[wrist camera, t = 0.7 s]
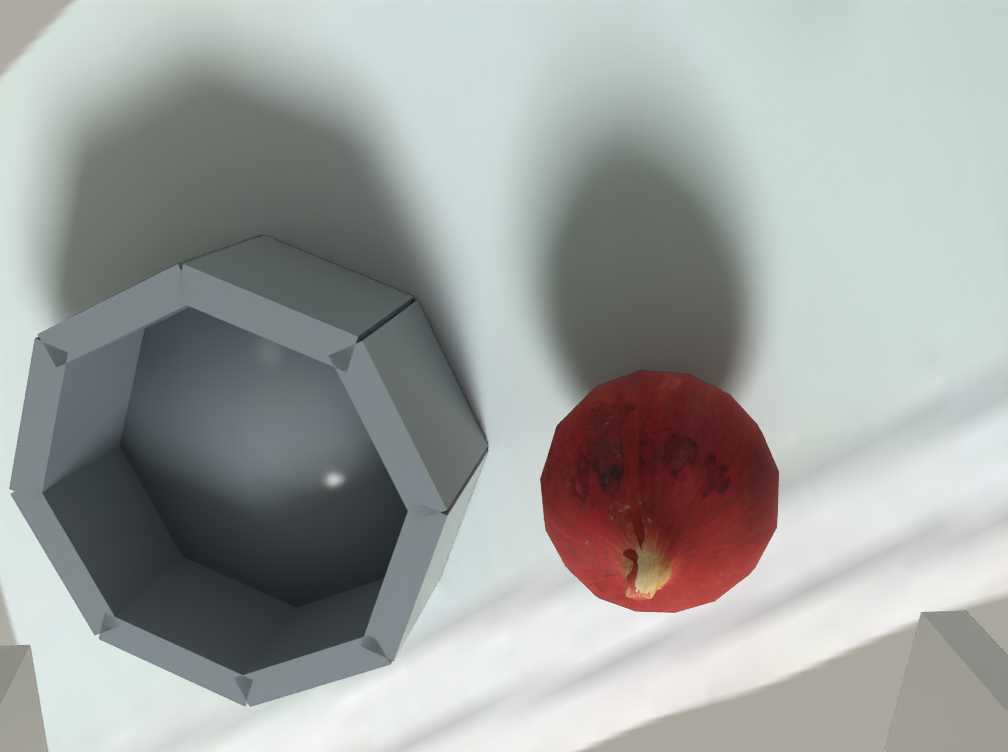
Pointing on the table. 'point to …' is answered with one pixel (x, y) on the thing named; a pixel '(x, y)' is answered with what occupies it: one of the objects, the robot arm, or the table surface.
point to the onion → (659, 492)
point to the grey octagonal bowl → (248, 468)
